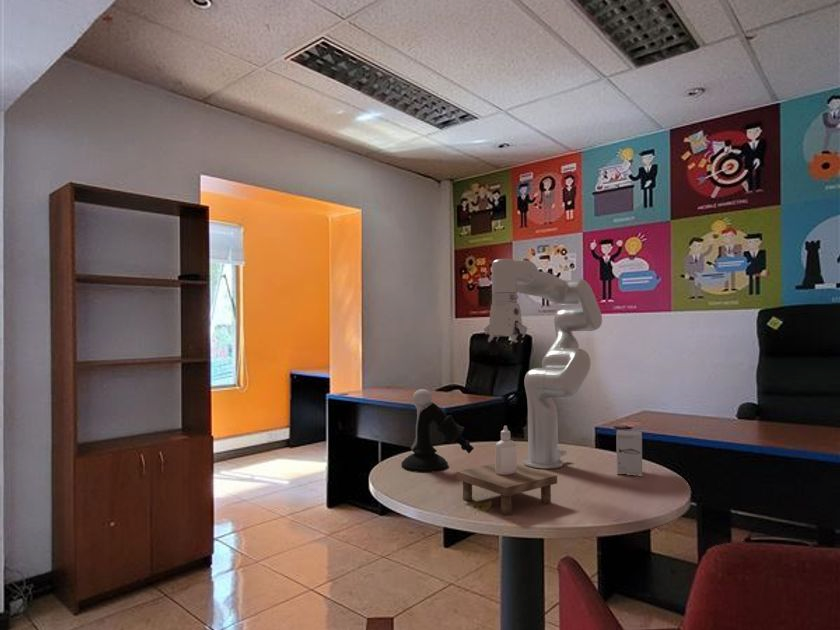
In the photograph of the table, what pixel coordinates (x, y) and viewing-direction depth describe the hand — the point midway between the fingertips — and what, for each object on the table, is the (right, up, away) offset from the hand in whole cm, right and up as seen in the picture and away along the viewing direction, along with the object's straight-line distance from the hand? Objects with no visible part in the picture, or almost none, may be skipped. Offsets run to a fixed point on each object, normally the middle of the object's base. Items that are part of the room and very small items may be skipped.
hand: (505, 355), depth 157 cm
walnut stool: (-4, -35, -25) cm, 44 cm away
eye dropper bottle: (-4, -29, -25) cm, 38 cm away
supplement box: (+39, -37, +1) cm, 53 cm away
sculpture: (-20, -37, +10) cm, 43 cm away
